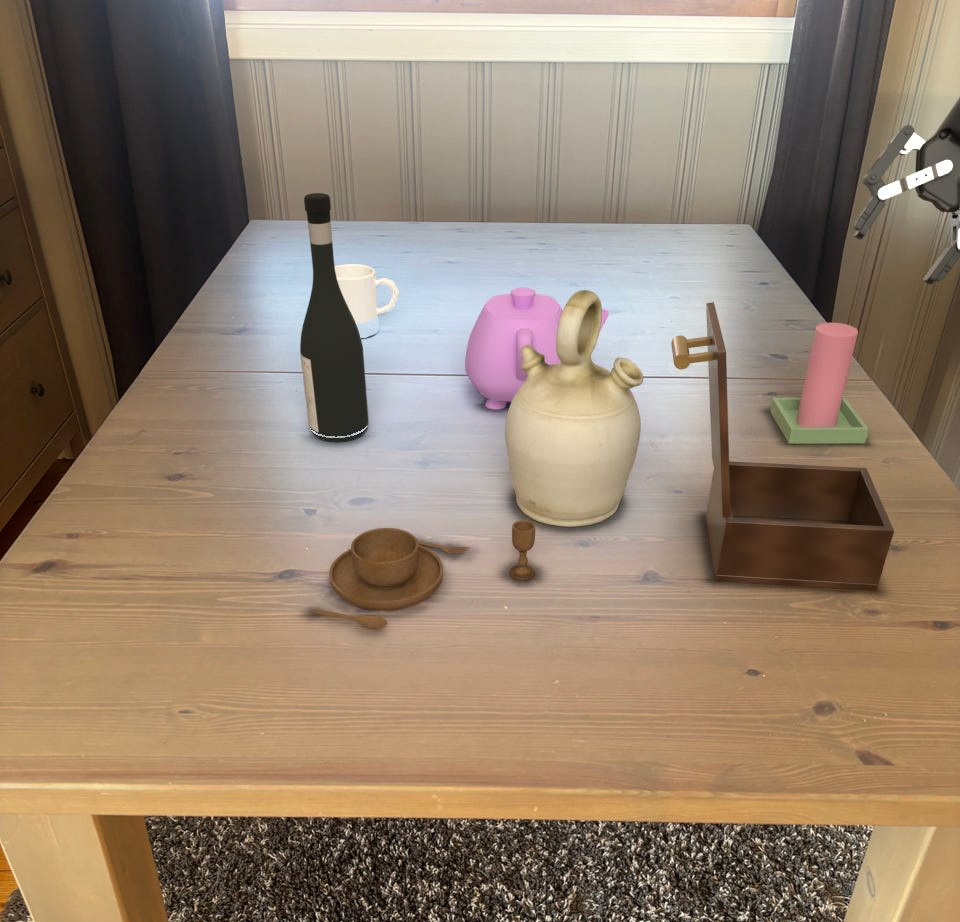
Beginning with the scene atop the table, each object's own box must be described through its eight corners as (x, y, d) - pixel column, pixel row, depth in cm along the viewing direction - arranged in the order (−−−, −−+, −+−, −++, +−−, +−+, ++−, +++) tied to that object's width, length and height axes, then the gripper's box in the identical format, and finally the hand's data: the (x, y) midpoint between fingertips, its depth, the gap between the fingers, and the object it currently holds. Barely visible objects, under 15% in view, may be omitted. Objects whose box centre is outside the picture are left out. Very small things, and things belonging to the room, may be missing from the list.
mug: (396, 342, 159) (393, 281, 153) (325, 338, 160) (319, 277, 154) (406, 325, 165) (403, 265, 159) (337, 322, 166) (332, 262, 160)
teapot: (611, 428, 133) (620, 318, 124) (464, 428, 133) (463, 319, 124) (596, 372, 149) (603, 271, 139) (465, 372, 148) (464, 271, 139)
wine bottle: (302, 442, 129) (272, 202, 111) (319, 417, 136) (294, 186, 117) (361, 447, 128) (340, 204, 110) (375, 421, 135) (358, 188, 116)
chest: (851, 524, 112) (866, 467, 108) (876, 590, 102) (894, 530, 97) (705, 516, 114) (714, 460, 109) (715, 581, 103) (725, 521, 99)
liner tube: (813, 434, 130) (834, 339, 122) (788, 419, 134) (807, 325, 126) (843, 427, 132) (867, 333, 124) (818, 412, 136) (839, 320, 128)
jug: (658, 502, 116) (685, 291, 101) (573, 550, 108) (588, 327, 93) (563, 460, 125) (574, 260, 110) (477, 501, 117) (476, 290, 101)
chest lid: (714, 301, 99) (668, 308, 100) (726, 350, 88) (674, 357, 89) (719, 456, 109) (677, 460, 110) (730, 517, 98) (684, 521, 99)
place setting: (374, 532, 111) (371, 486, 107) (540, 567, 105) (542, 519, 102) (297, 615, 98) (290, 566, 94) (481, 660, 92) (481, 610, 89)
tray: (842, 411, 137) (845, 397, 136) (865, 443, 129) (869, 428, 128) (769, 411, 137) (772, 397, 136) (788, 443, 129) (791, 429, 128)
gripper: (951, 54, 90) (840, 220, 96) (1079, 137, 90) (960, 297, 96) (931, 71, 97) (828, 225, 103) (1050, 148, 97) (941, 297, 103)
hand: (892, 260), depth 100 cm, fingers open, 8 cm apart
